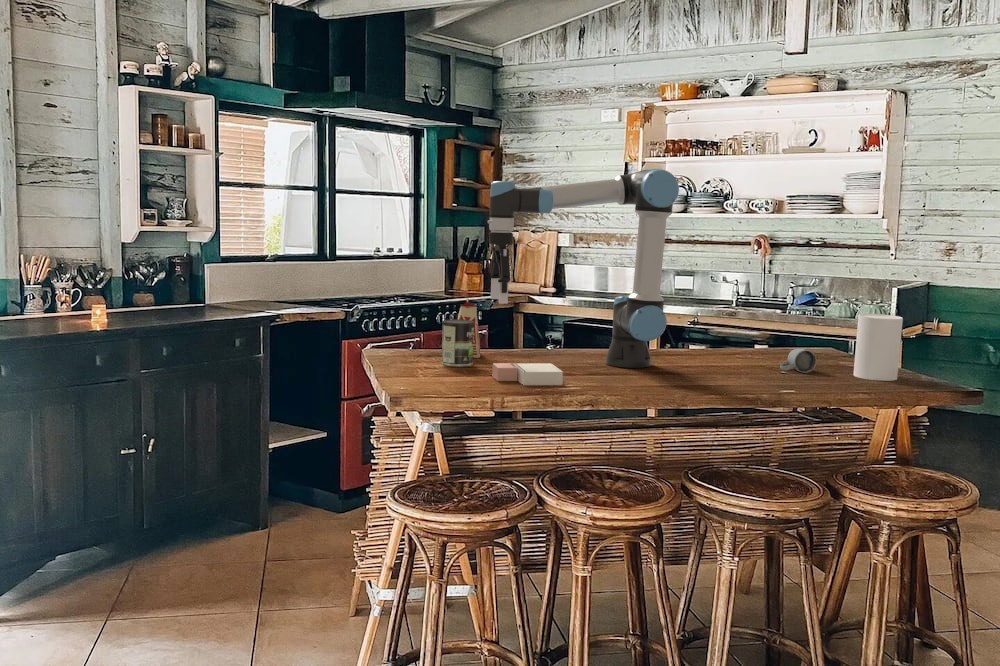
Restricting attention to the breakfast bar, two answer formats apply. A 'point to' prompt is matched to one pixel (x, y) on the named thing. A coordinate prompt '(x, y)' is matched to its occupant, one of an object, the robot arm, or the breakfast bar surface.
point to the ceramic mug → (800, 361)
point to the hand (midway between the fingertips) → (499, 301)
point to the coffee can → (457, 342)
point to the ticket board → (539, 374)
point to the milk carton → (470, 313)
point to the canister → (878, 347)
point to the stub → (504, 372)
